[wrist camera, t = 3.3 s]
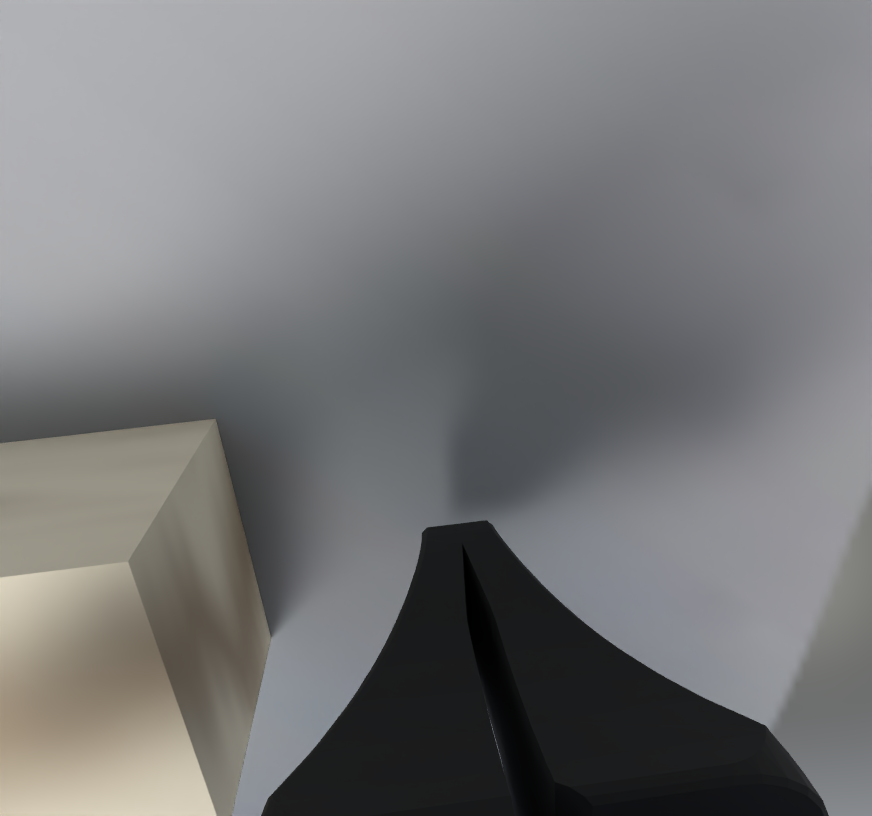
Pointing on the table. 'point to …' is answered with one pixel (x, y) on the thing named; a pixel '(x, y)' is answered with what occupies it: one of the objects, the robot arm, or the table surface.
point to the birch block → (125, 625)
